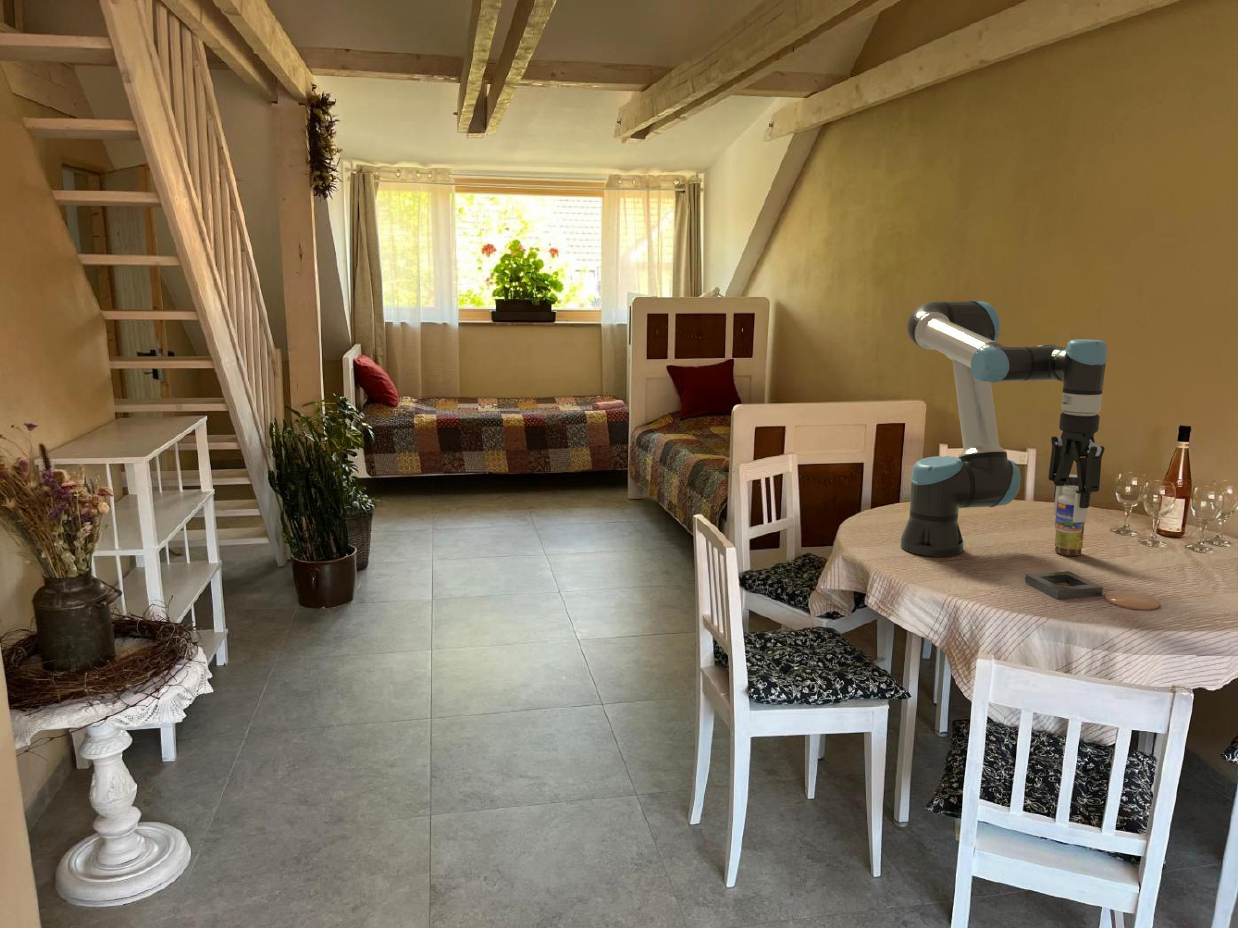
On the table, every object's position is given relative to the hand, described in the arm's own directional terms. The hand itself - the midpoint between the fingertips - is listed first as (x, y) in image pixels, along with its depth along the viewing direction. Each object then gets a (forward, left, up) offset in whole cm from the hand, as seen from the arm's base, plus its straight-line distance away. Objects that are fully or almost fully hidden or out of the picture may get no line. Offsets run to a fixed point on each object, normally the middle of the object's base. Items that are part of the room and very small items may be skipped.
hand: (1069, 517), depth 193 cm
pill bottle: (0, 0, -3) cm, 3 cm away
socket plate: (0, 0, -16) cm, 16 cm away
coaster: (+10, +9, -16) cm, 21 cm away
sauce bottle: (-23, +19, -17) cm, 34 cm away
